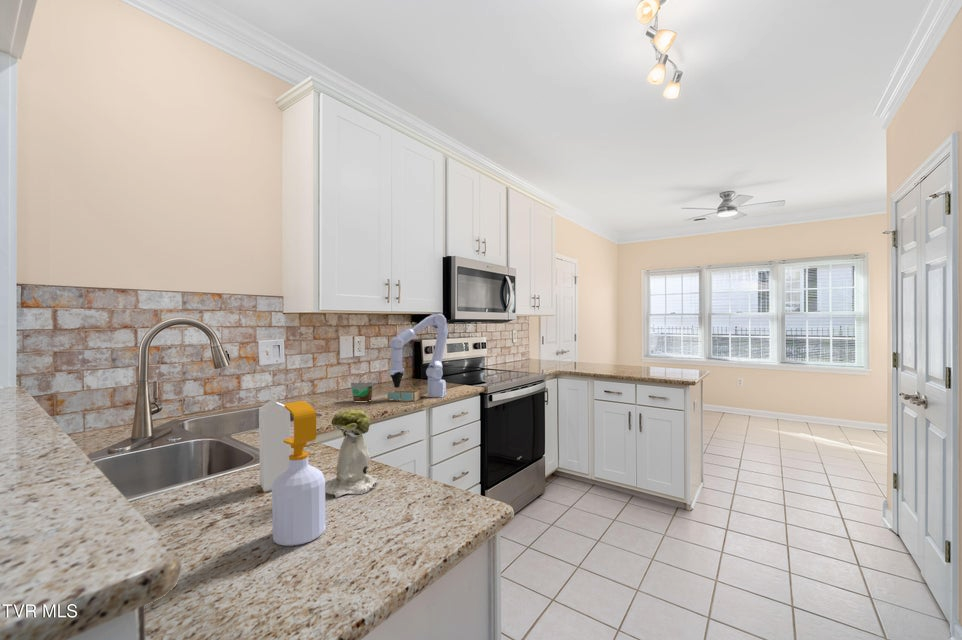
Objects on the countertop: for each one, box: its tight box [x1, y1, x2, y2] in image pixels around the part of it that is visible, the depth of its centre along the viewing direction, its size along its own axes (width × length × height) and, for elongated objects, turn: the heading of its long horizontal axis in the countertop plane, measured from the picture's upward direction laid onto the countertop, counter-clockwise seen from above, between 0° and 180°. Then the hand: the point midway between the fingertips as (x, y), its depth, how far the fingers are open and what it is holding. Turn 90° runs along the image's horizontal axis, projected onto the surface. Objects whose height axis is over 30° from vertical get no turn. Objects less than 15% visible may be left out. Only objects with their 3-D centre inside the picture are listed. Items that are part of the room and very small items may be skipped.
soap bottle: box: [271, 400, 327, 547], centre depth 77 cm, size 9×9×25 cm
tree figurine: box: [325, 408, 379, 498], centre depth 99 cm, size 12×13×18 cm
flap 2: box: [401, 393, 413, 400], centre depth 206 cm, size 6×1×3 cm, turn 78°
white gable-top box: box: [258, 394, 292, 493], centre depth 101 cm, size 6×6×22 cm
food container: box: [350, 380, 374, 401], centre depth 207 cm, size 12×6×10 cm, turn 73°
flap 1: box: [387, 391, 400, 400], centre depth 208 cm, size 6×1×3 cm, turn 78°
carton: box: [387, 389, 421, 402], centre depth 212 cm, size 15×8×4 cm, turn 78°
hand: (396, 387), depth 210 cm, fingers closed
